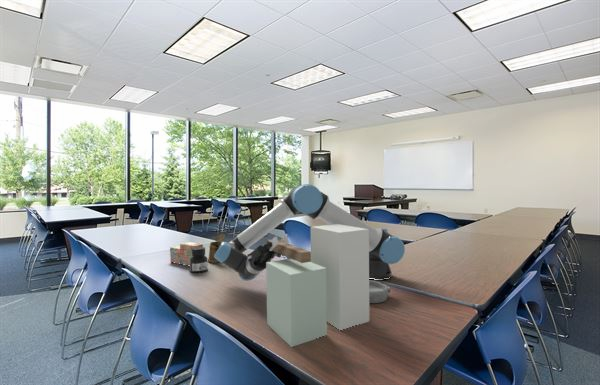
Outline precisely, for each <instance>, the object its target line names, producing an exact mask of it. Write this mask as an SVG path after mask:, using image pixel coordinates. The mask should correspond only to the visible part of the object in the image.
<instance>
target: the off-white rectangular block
mask: <svg viewBox="0 0 600 385" xmlns="http://www.w3.org/2000/svg"><path fill="white" fill-rule="evenodd" d="M310 251H311V262H312V263H314V264H317V265H320V266H322V267H325V268H326V296H327V322H328V323H327V324H329V323H330V324H331V325H330V324H329V325H330V326H332V325H333V326H334V327H333V326H332V327H333V328H335V327H336V328H337V329H336V328H335V329H336V330H338V329H339V330H338V331H340V330H342V331H344V330H343V329H345V330H347V329H346V328H348V329H350V328H349V327H351V328H353V327H352V326H354V327H356V326H355V325H357V326H360V325H363V324H365V323H369V322H370V303H369V229H364V228H358V227H352V226H346V225H340V224H334V225H329V224H327V225H326V224H325V225H315V226H310ZM359 324H360V325H359Z"/></svg>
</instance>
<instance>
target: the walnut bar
mask: <svg viewBox="0 0 600 385" xmlns="http://www.w3.org/2000/svg"><path fill="white" fill-rule="evenodd" d="M272 239H273V238H272ZM272 239H266V244H267V243H269V242H270V241H271V240H272ZM278 242H279V244H278V245H277V246H276V247H275V248H274V249H273V250H272V251H274V252H277V253H279V254H281V256H284V257H286V258H287V259H293V260H295V261H298V262H300V263H306V262H311V250H308V249H305V248H301V247H298V246H296V245H292V244H290V243H288V244H287V243H284V242H281V241H280V240H279V239H278Z"/></svg>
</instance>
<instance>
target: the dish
mask: <svg viewBox="0 0 600 385" xmlns="http://www.w3.org/2000/svg"><path fill="white" fill-rule="evenodd" d="M391 291H392V290H391V287H390V286H388V285H387V284H384V283H382V282H380V281H378V280H369V304H378V303H379V304H380V303H383V302H385V301H387V299H388V296H389V293H391Z"/></svg>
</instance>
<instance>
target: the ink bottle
mask: <svg viewBox="0 0 600 385" xmlns="http://www.w3.org/2000/svg"><path fill="white" fill-rule="evenodd" d="M192 256H193V257H192V258H191V259H190V267H189V272H190V273H192V272H194V273H193V274H199V273H198V272H200V273H203V272H204V271H205V272H207V271H208V269H209V266H208V265H209V264H208V263H209V262H208V257H207V256H206V247H204V246H203V247H196V248H192ZM205 272H204V273H205Z"/></svg>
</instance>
